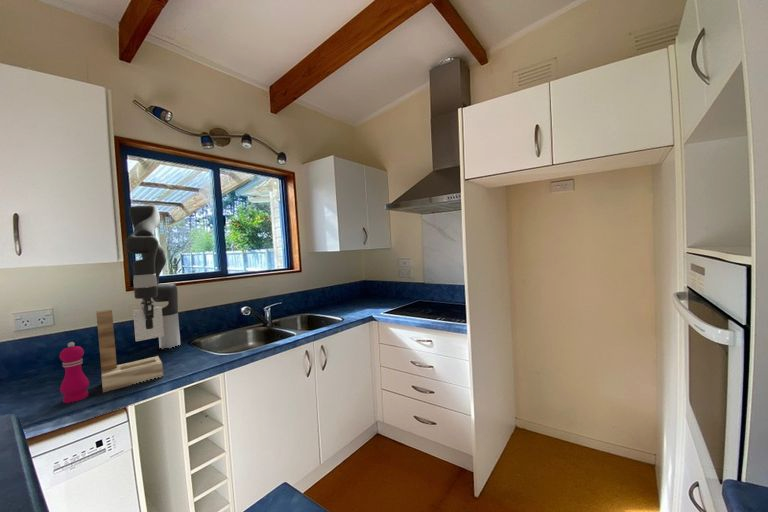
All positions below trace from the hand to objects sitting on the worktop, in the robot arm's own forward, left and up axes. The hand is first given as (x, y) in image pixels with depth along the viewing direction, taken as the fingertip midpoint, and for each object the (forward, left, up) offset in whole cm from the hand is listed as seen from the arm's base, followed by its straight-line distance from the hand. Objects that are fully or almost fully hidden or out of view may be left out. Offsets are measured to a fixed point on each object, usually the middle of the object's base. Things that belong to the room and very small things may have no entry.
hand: (149, 327), depth 127 cm
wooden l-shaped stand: (0, -6, -19) cm, 20 cm away
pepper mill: (+5, -22, -20) cm, 30 cm away
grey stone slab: (0, 0, -4) cm, 4 cm away
